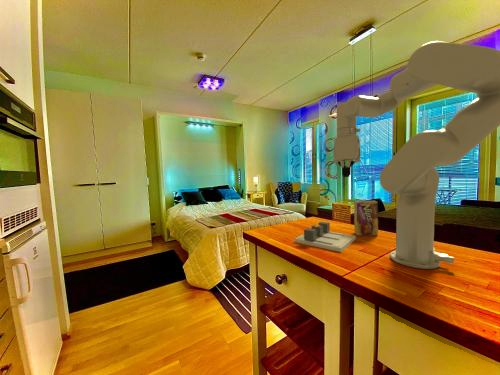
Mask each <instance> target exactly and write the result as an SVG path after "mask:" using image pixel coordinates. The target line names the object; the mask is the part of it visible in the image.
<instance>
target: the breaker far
mask: <svg viewBox="0 0 500 375" xmlns="http://www.w3.org/2000/svg"><path fill="white" fill-rule="evenodd" d="M317 225H320V226H323V232H325V233H328V232H331V230H330V228H331V227H330V226H331V224H330V222H326V221H319V222H318V224H317Z"/></svg>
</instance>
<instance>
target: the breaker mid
mask: <svg viewBox="0 0 500 375" xmlns="http://www.w3.org/2000/svg"><path fill="white" fill-rule="evenodd" d="M310 229H315V230H316V236H319V237H321V236H323V226H320V225H318V224H313V225H311V228H310Z"/></svg>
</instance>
